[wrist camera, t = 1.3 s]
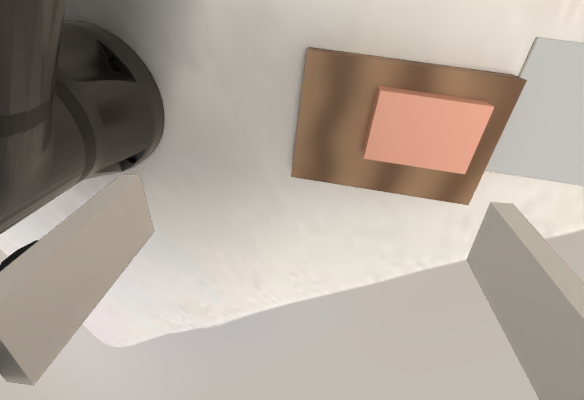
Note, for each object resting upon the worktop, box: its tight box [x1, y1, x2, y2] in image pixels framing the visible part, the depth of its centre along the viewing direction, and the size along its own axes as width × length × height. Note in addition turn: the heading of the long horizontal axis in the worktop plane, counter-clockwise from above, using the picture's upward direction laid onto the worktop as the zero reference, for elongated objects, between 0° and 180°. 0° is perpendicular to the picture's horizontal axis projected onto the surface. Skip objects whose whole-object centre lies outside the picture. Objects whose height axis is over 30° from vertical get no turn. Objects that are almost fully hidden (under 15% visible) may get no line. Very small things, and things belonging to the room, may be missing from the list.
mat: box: [485, 37, 584, 186], centre depth 29 cm, size 11×12×1 cm
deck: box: [291, 47, 527, 205], centre depth 31 cm, size 18×12×2 cm, turn 83°
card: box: [363, 86, 494, 174], centre depth 28 cm, size 9×6×2 cm, turn 83°
